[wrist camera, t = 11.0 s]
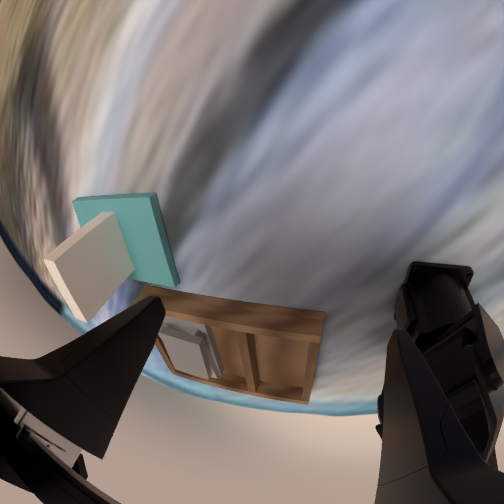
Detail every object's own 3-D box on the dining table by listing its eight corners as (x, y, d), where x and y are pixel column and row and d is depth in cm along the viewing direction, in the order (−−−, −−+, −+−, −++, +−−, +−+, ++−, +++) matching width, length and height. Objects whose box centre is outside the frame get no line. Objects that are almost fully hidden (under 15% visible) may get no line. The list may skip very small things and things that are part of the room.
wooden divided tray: (324, 311, 25) (321, 336, 22) (311, 385, 33) (308, 404, 30) (147, 285, 30) (133, 302, 28) (180, 358, 38) (172, 373, 36)
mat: (155, 192, 22) (149, 197, 22) (179, 281, 28) (175, 287, 27) (77, 197, 26) (72, 201, 25) (104, 267, 31) (99, 272, 30)
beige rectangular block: (115, 211, 24) (53, 261, 17) (134, 269, 28) (87, 323, 21) (102, 211, 24) (43, 258, 18) (122, 267, 28) (75, 317, 22)
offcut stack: (207, 315, 28) (196, 336, 26) (223, 369, 34) (216, 387, 32) (158, 305, 30) (145, 323, 28) (182, 358, 36) (173, 374, 34)
